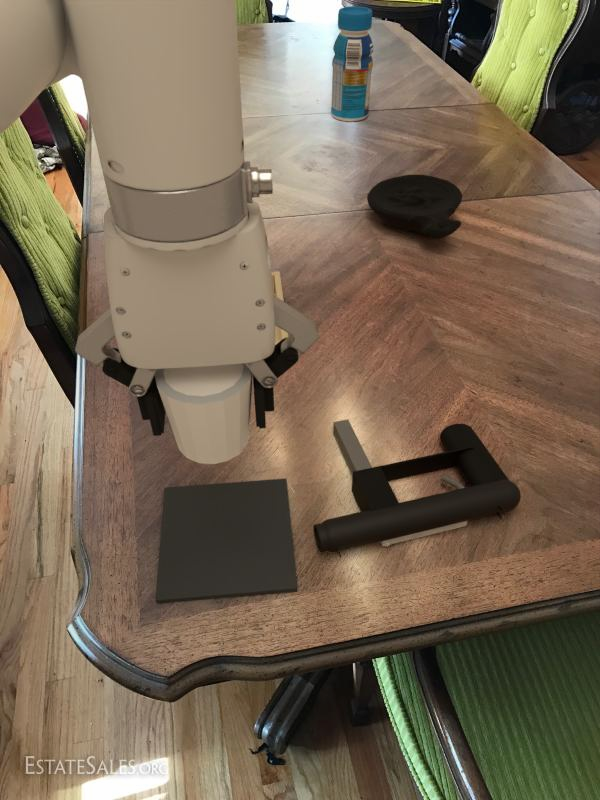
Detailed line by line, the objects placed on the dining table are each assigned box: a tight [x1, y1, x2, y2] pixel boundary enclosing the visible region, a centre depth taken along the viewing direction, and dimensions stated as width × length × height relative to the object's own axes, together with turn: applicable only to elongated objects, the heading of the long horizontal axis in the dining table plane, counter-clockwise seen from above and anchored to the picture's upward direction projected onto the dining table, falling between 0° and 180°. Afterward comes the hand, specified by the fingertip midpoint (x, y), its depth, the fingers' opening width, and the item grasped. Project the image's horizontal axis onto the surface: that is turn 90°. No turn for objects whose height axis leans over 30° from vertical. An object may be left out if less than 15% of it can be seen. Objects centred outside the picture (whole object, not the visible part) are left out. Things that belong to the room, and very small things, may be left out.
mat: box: [155, 478, 298, 604], centre depth 57 cm, size 12×12×1 cm
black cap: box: [366, 174, 463, 240], centre depth 97 cm, size 15×20×5 cm
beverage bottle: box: [330, 5, 374, 122], centre depth 128 cm, size 8×8×20 cm
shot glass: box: [154, 363, 253, 465], centre depth 45 cm, size 7×7×7 cm
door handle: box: [313, 418, 522, 558], centre depth 61 cm, size 3×20×16 cm
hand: (210, 417), depth 46 cm, fingers closed on shot glass, 6 cm apart
